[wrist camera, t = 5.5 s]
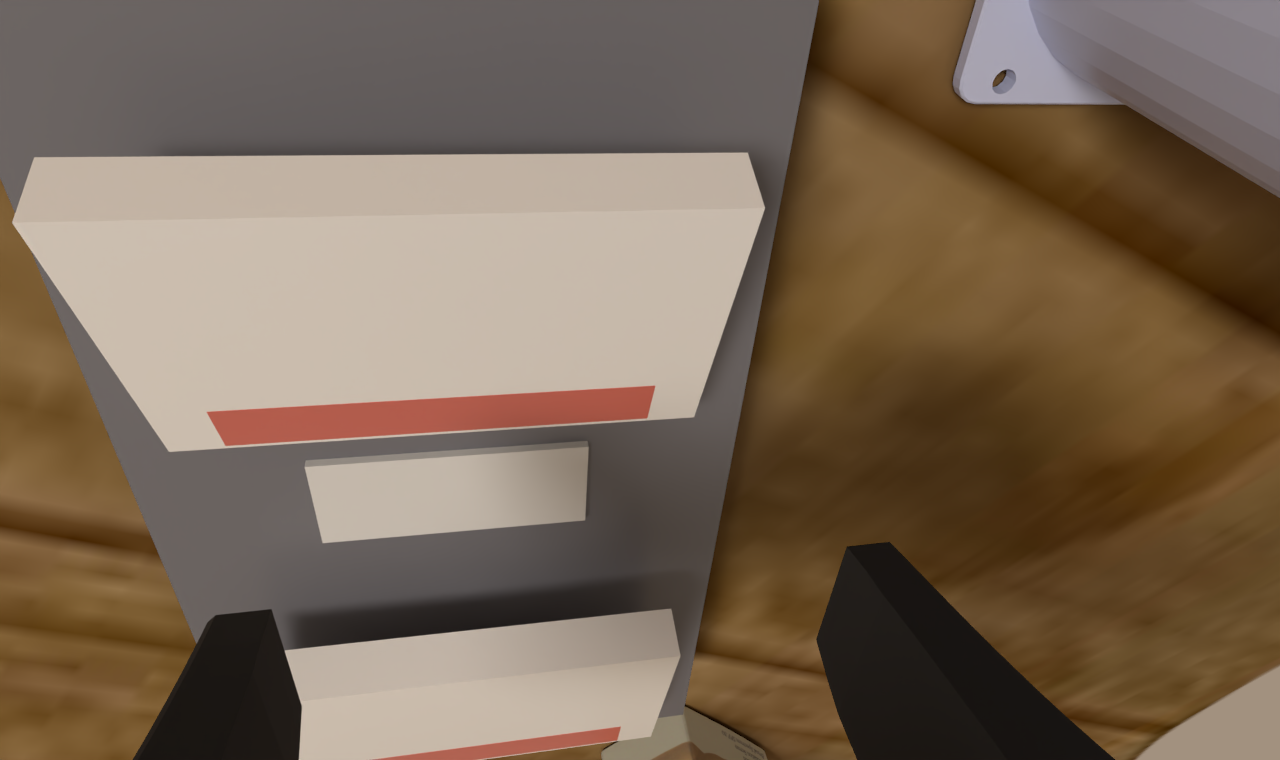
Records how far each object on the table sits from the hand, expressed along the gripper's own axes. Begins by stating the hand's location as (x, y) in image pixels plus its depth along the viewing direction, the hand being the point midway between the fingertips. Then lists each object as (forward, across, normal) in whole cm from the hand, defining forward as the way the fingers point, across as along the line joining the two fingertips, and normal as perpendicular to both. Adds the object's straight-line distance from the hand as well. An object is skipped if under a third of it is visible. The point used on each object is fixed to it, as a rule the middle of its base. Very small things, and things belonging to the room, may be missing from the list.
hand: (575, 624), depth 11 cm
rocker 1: (+6, +2, -1) cm, 7 cm away
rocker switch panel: (+10, +2, +5) cm, 12 cm away
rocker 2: (+6, +2, +11) cm, 13 cm away
